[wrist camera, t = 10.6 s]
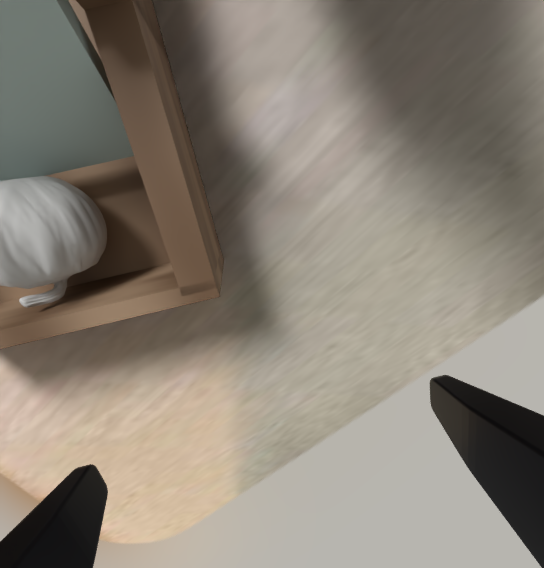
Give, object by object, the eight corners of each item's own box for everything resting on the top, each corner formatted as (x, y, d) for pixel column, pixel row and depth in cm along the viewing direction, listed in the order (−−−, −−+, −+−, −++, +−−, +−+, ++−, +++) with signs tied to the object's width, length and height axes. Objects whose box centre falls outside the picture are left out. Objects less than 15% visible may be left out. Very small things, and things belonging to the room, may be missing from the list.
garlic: (-127, 208, 11) (-40, 334, 13) (-15, 171, 10) (64, 317, 12) (24, 188, 16) (70, 279, 18) (109, 162, 15) (150, 263, 17)
